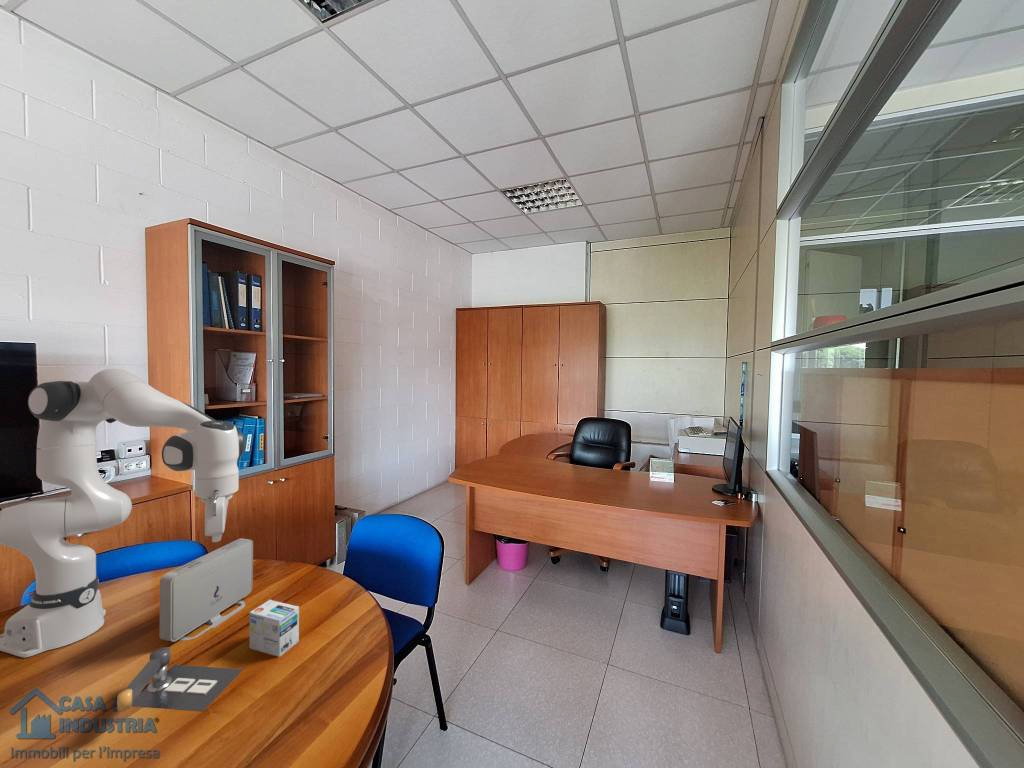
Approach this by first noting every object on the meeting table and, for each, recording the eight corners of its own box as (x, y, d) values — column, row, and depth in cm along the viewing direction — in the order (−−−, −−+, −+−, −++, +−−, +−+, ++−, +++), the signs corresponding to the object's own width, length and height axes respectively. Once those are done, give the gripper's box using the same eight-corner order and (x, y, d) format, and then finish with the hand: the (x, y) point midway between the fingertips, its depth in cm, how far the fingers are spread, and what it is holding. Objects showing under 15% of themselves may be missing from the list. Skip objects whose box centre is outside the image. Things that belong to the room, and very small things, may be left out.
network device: (177, 652, 103) (177, 579, 102) (151, 647, 105) (151, 574, 104) (258, 598, 128) (258, 538, 127) (236, 594, 130) (236, 535, 129)
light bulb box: (299, 642, 108) (300, 605, 108) (279, 660, 101) (279, 620, 101) (269, 634, 111) (270, 598, 110) (247, 650, 104) (248, 612, 104)
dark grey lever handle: (155, 660, 93) (155, 648, 93) (173, 657, 94) (173, 645, 94) (110, 713, 79) (110, 699, 79) (131, 710, 80) (131, 695, 80)
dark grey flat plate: (125, 708, 86) (125, 705, 86) (174, 666, 98) (174, 664, 98) (203, 713, 85) (203, 711, 85) (243, 671, 97) (243, 669, 97)
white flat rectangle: (186, 692, 90) (186, 691, 90) (199, 680, 93) (199, 679, 93) (204, 694, 90) (204, 692, 90) (217, 681, 93) (217, 680, 93)
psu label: (163, 691, 90) (163, 689, 90) (177, 679, 94) (177, 677, 94) (182, 692, 90) (182, 691, 90) (195, 680, 93) (195, 678, 93)
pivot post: (141, 693, 90) (141, 671, 90) (159, 678, 94) (159, 657, 94) (159, 695, 90) (159, 673, 89) (177, 680, 94) (177, 658, 94)
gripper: (231, 495, 90) (231, 553, 91) (233, 474, 107) (233, 523, 107) (196, 499, 87) (196, 560, 87) (204, 477, 103) (204, 528, 104)
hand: (216, 539), depth 97 cm, fingers closed
